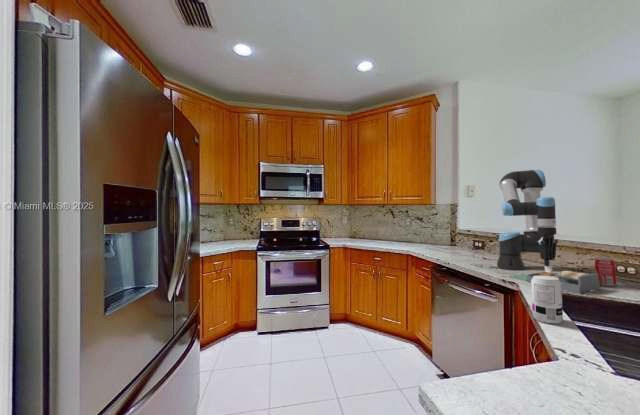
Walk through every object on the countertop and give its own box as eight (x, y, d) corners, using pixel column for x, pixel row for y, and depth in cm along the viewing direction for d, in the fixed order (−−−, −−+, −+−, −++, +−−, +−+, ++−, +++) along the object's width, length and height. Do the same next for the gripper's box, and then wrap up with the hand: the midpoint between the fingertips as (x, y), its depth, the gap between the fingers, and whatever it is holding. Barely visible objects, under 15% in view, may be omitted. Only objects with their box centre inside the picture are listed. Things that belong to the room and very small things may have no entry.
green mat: (508, 277, 158) (508, 276, 158) (523, 275, 162) (523, 274, 162) (526, 281, 149) (526, 279, 149) (541, 278, 153) (541, 277, 153)
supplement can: (527, 316, 102) (525, 275, 102) (550, 315, 101) (548, 274, 102) (544, 325, 93) (542, 280, 94) (569, 324, 93) (567, 280, 93)
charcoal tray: (527, 282, 147) (526, 267, 147) (545, 278, 152) (545, 265, 153) (579, 293, 126) (579, 276, 126) (599, 289, 131) (599, 273, 131)
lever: (535, 275, 144) (535, 271, 144) (551, 273, 149) (551, 269, 149) (577, 284, 128) (576, 278, 128) (593, 280, 132) (593, 275, 132)
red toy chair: (620, 287, 133) (619, 260, 134) (602, 286, 135) (601, 260, 135) (608, 283, 140) (607, 257, 140) (591, 283, 142) (590, 257, 142)
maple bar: (561, 276, 137) (561, 271, 137) (566, 275, 138) (566, 270, 138) (581, 280, 129) (581, 274, 130) (586, 279, 131) (586, 273, 131)
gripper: (546, 227, 139) (548, 274, 138) (563, 226, 143) (565, 272, 143) (530, 227, 146) (532, 272, 145) (547, 226, 150) (548, 269, 150)
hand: (548, 272), depth 144 cm, fingers closed
